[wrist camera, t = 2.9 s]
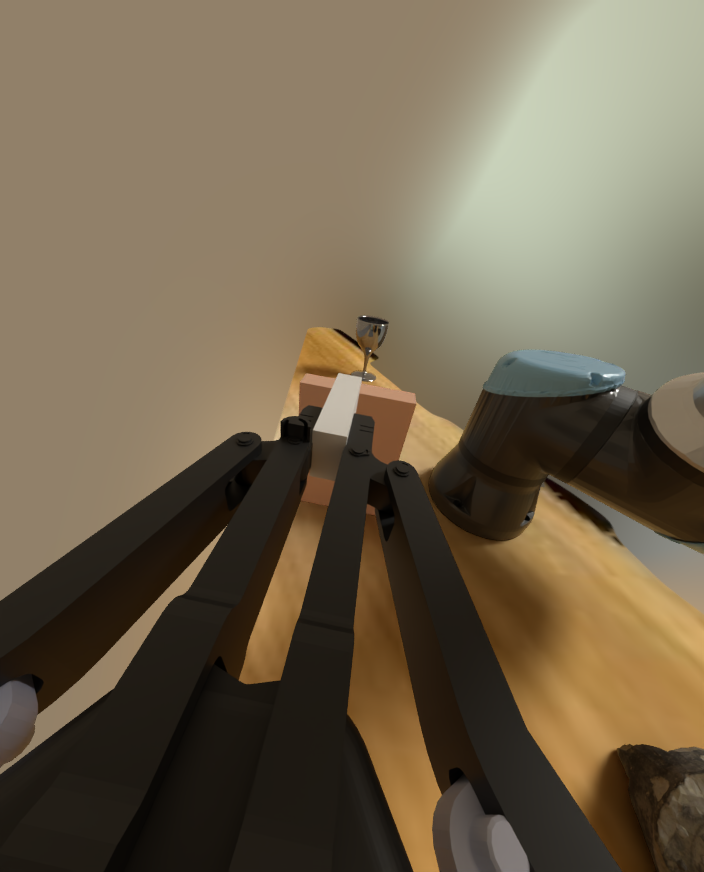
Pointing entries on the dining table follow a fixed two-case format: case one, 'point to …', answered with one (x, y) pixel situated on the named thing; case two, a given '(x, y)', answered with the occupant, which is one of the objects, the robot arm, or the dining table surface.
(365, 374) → the wine glass
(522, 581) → the dining table surface
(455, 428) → the dining table surface
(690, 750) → the fossil
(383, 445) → the tile
